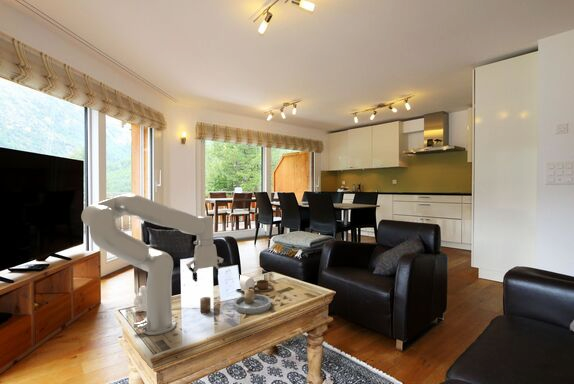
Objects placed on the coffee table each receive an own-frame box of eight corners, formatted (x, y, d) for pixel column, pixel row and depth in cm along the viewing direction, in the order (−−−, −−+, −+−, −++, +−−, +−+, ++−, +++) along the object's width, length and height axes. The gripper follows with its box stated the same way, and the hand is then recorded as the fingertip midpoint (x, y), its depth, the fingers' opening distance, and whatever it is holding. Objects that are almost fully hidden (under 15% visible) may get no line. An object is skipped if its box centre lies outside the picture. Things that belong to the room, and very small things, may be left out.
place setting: (280, 291, 163) (280, 281, 163) (250, 300, 150) (250, 289, 150) (262, 284, 176) (262, 274, 176) (233, 291, 163) (233, 281, 163)
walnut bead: (202, 314, 132) (202, 301, 132) (199, 311, 136) (198, 298, 136) (212, 312, 135) (211, 299, 135) (208, 308, 139) (208, 296, 139)
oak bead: (247, 305, 141) (247, 292, 141) (243, 302, 145) (242, 289, 145) (255, 302, 144) (255, 290, 144) (251, 300, 148) (251, 288, 148)
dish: (243, 317, 129) (243, 311, 129) (227, 304, 144) (227, 299, 144) (277, 307, 139) (277, 302, 139) (259, 296, 154) (259, 292, 154)
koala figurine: (152, 311, 136) (152, 285, 136) (136, 315, 132) (136, 288, 132) (148, 305, 143) (147, 281, 143) (132, 309, 139) (132, 284, 139)
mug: (245, 294, 158) (244, 279, 158) (232, 290, 164) (232, 276, 164) (260, 288, 167) (259, 274, 167) (247, 285, 173) (247, 271, 173)
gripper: (188, 246, 127) (189, 284, 128) (225, 241, 137) (226, 277, 137) (183, 243, 134) (184, 280, 134) (219, 239, 143) (220, 273, 144)
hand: (205, 278), depth 136 cm, fingers open, 9 cm apart
